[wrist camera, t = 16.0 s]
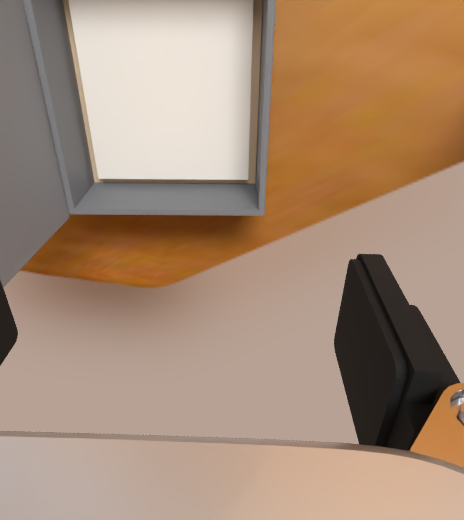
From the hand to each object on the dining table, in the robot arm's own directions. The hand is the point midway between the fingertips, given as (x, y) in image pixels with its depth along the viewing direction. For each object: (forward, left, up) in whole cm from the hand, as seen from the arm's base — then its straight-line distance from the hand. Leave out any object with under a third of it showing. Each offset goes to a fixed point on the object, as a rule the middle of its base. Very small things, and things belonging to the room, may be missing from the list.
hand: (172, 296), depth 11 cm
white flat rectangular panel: (+5, 0, -38) cm, 38 cm away
